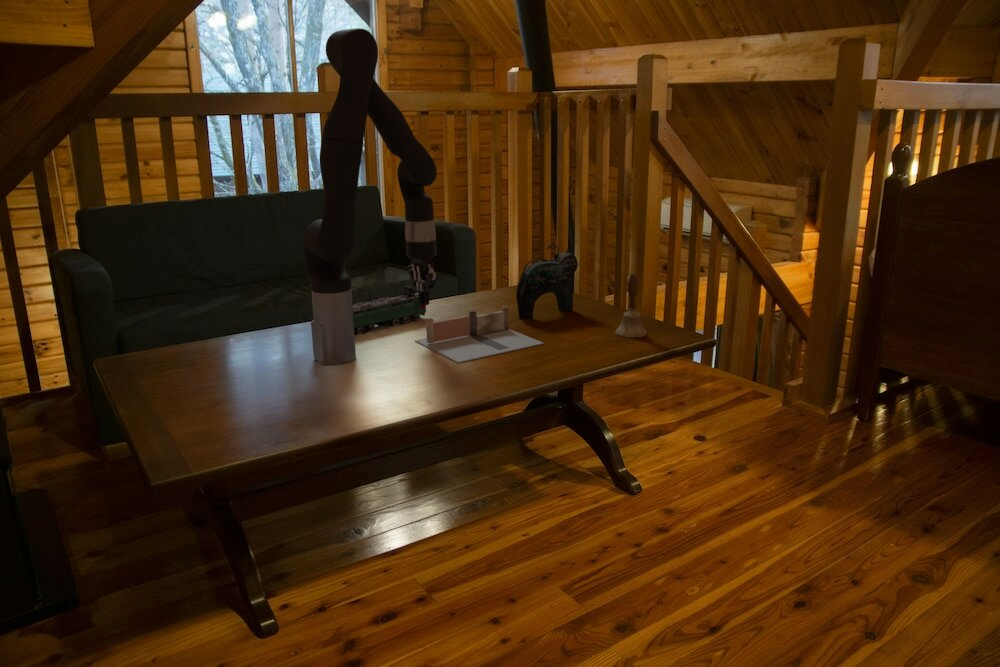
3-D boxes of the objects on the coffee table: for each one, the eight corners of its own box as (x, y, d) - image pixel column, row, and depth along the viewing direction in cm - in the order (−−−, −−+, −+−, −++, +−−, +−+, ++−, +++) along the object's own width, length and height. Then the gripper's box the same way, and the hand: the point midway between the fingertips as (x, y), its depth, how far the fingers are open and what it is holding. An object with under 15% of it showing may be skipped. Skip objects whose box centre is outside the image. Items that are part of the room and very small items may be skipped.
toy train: (431, 319, 222) (429, 284, 220) (334, 341, 203) (332, 303, 200) (420, 315, 226) (419, 281, 223) (325, 337, 206) (322, 300, 203)
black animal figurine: (567, 306, 234) (568, 239, 228) (581, 311, 229) (583, 243, 223) (513, 316, 223) (513, 247, 217) (526, 322, 218) (526, 251, 212)
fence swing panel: (466, 333, 205) (466, 311, 203) (470, 335, 204) (470, 312, 202) (425, 341, 198) (424, 319, 197) (429, 343, 197) (428, 320, 195)
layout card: (458, 363, 185) (458, 361, 185) (415, 341, 201) (415, 340, 201) (543, 344, 199) (543, 342, 199) (496, 325, 215) (496, 323, 215)
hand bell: (647, 338, 203) (651, 278, 198) (615, 337, 204) (617, 277, 199) (645, 329, 211) (648, 271, 206) (614, 328, 212) (616, 270, 207)
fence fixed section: (471, 336, 204) (471, 312, 202) (468, 335, 205) (467, 311, 204) (509, 328, 211) (509, 305, 209) (506, 327, 212) (505, 304, 210)
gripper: (395, 236, 199) (399, 301, 204) (420, 243, 188) (424, 312, 194) (420, 232, 203) (424, 297, 208) (447, 239, 192) (450, 307, 198)
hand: (424, 304), depth 201 cm, fingers closed
